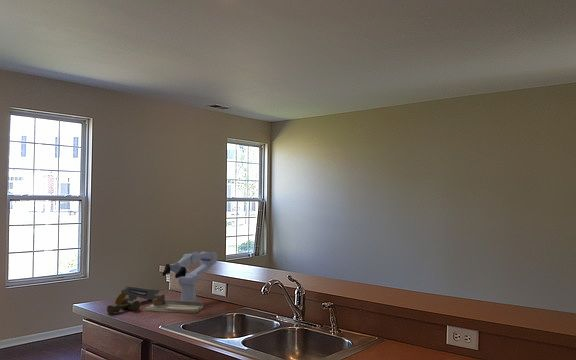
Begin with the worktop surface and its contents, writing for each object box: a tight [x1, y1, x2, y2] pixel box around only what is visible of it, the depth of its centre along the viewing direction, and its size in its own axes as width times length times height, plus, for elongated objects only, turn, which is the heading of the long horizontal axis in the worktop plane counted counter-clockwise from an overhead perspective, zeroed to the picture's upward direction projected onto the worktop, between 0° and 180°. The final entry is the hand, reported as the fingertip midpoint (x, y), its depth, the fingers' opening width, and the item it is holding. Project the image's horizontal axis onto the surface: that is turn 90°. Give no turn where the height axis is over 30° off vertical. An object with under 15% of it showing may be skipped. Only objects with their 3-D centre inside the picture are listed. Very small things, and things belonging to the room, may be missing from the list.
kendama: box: [106, 297, 141, 316], centre depth 262 cm, size 6×10×20 cm
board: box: [144, 299, 204, 314], centre depth 267 cm, size 13×28×4 cm, turn 79°
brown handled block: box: [151, 293, 166, 306], centre depth 269 cm, size 10×4×6 cm, turn 169°
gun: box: [114, 285, 160, 305], centre depth 284 cm, size 3×25×15 cm, turn 136°
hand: (169, 275), depth 266 cm, fingers open, 7 cm apart
